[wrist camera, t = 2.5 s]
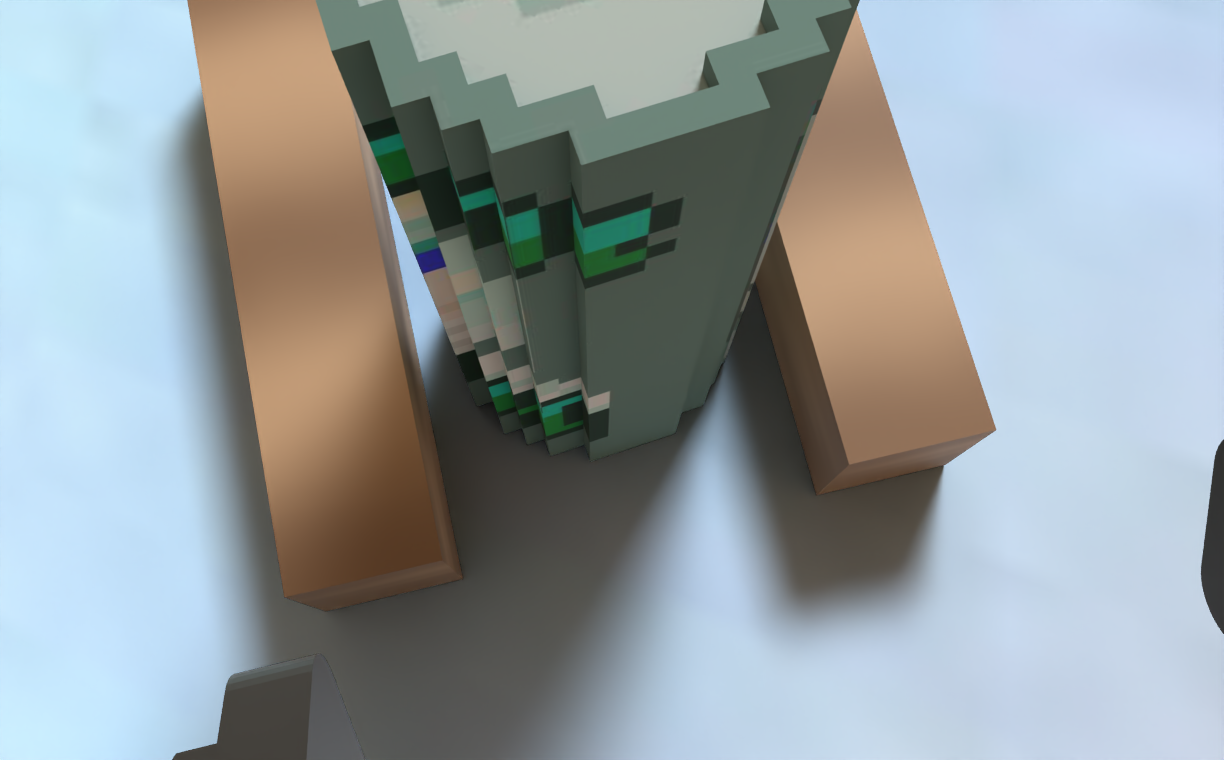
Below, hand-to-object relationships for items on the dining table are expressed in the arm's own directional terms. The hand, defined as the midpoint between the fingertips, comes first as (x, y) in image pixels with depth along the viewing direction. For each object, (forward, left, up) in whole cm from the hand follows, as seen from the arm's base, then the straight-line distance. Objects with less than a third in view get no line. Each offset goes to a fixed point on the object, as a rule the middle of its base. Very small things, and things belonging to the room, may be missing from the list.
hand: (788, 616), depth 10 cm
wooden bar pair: (-7, -7, -15) cm, 18 cm away
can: (-6, -6, -15) cm, 17 cm away
